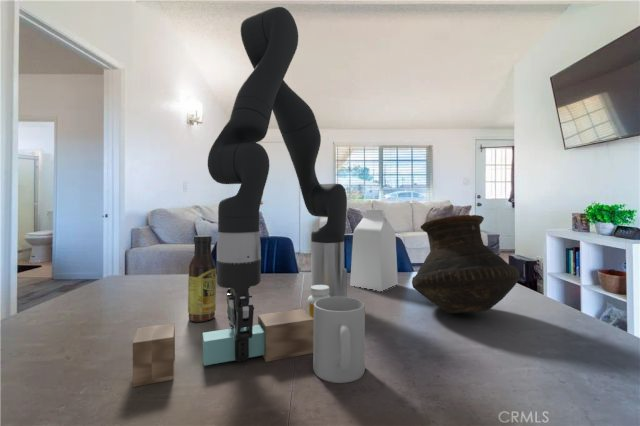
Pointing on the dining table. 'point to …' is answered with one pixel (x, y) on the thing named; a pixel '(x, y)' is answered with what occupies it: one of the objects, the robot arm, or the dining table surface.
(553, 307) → the dining table surface
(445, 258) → the ceramic pot
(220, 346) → the long turquoise beam
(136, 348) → the socket
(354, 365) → the mug
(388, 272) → the milk
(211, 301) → the sauce bottle
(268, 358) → the wooden block
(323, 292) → the supplement bottle
